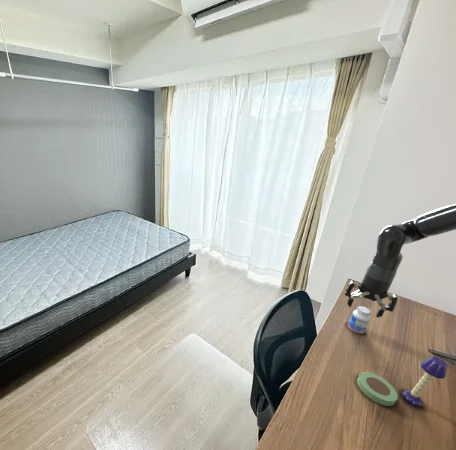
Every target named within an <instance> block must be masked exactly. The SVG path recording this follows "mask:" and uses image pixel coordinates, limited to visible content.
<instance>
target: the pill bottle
mask: <svg viewBox="0 0 456 450" xmlns="http://www.w3.org/2000/svg"><path fill="white" fill-rule="evenodd" d="M371 313H372V312H371V310H370V309H369V308H368V307H365V306H362V305H359V306H358V307H357V308H356V309H355V310H354V311H352V314H351V316H350V318H349V321H348V323H347V327H348V328H349V330H351V331H352V332H354V333H355V334H364V333H365V332H366V330H367V328H368V325H369V323H370V321H371V316H370V315H371Z"/></svg>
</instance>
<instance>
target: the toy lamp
mask: <svg viewBox="0 0 456 450" xmlns="http://www.w3.org/2000/svg"><path fill="white" fill-rule="evenodd" d="M420 367H421V368H422V370H423V371H424V373H423V376H421V378H420V379H419V380H418V382H417V383H416V384H415V386H414V387H413V389H412V390H403V391H402V392H401V396H402V398H403V399H404V400H405V401H406V402H407V403H408V404H409V405H411V406H413V407H417V408H421V407H422V405H423V401H422V399H421V397H420V396H421V394H422V393H423V391H425V389H426V388H427V387H428V386H429V384H430V383H431V381H432V380H433V379H434V378H436V379H440V380H441V379H442V380H443V379H445V377H446V375H447V369H448V364H447V362H446V361H445V360H443V359H442V358H440V357H438V356H431V357H428V358H427V359H425V360H423V361H422V362H421V363H420Z"/></svg>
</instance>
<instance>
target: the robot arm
mask: <svg viewBox="0 0 456 450" xmlns="http://www.w3.org/2000/svg"><path fill="white" fill-rule="evenodd" d="M452 231H456V203H452V204H449V205H446V206H442V207H439V208H437V209H433V210H431V211H429V212H425V213H422V214H421V215H418V216H416V218H413V219H411V220H408V221H405V222H401V223H397V224H391V225H390V224H389V225H387V226H385V227H383V228H382V229H381V230H380V232H379V234H378V236H377V242H376V251H375V253H374V255H373V257H372V260H371V262H370V263H369V265H368V266H367V268H366V271H365V273H364V275H363V277H362V280H361V282H360V283H356V282H355V281H353V280H350V281H349V283H348V285H347V287H346V288H345V290H344V296H346V297H348V299H347V301H346V305H347V306H348V308H352V306H353V303H354V302H355V299H360V298H364V299H366V300H370V301H372V302H377V304H378V309H377V310H376V312H375V317H376V318H382V317H383V315H384V313H385V312H386V311H388V312H394V310H395V307H396V304H397V302H398V299H399V298H398V296H397V294H391V293H389V290H390V287H391V285H392V284H393V281H394V280H395V277H396V274H397V271H398V269H399V267H400V265H401V263H402V261H403V254H402V252H401V251H402V248H403V246H404V245H408V244H412V243H415V242H418V241H421V240H423V239H426V238H427V239H428V238H430V237H433V236H438V235H441V234H445V233H449V232H452ZM356 288H358V290H356V291H354V292H352V290H354V289H356ZM386 298H388V301H389V302H388V305H387V304H385V302H384V299H386Z"/></svg>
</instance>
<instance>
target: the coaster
mask: <svg viewBox="0 0 456 450" xmlns="http://www.w3.org/2000/svg"><path fill="white" fill-rule="evenodd" d="M356 383H357V386H358V388H359V389H360V391H361V392H362V393H363V394H364V395H365V396H366V397H368V398H369V399H370V400H371V401H373V402H375V403H377V404H379V405H382V406H386V407H392V406H394V405H395V404H396V402H397V401H398V399H399V395H398V392H397V391H396V389H395V388H394V386H393V385H392V384H391V383H390V382H389V381H387V380H386V379H385V378H383V377H382V376H379V375H377V374H375V373H372V372H369V371H368V372H367V371H363V372H361V373H359V375H358V377H357V379H356Z"/></svg>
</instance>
